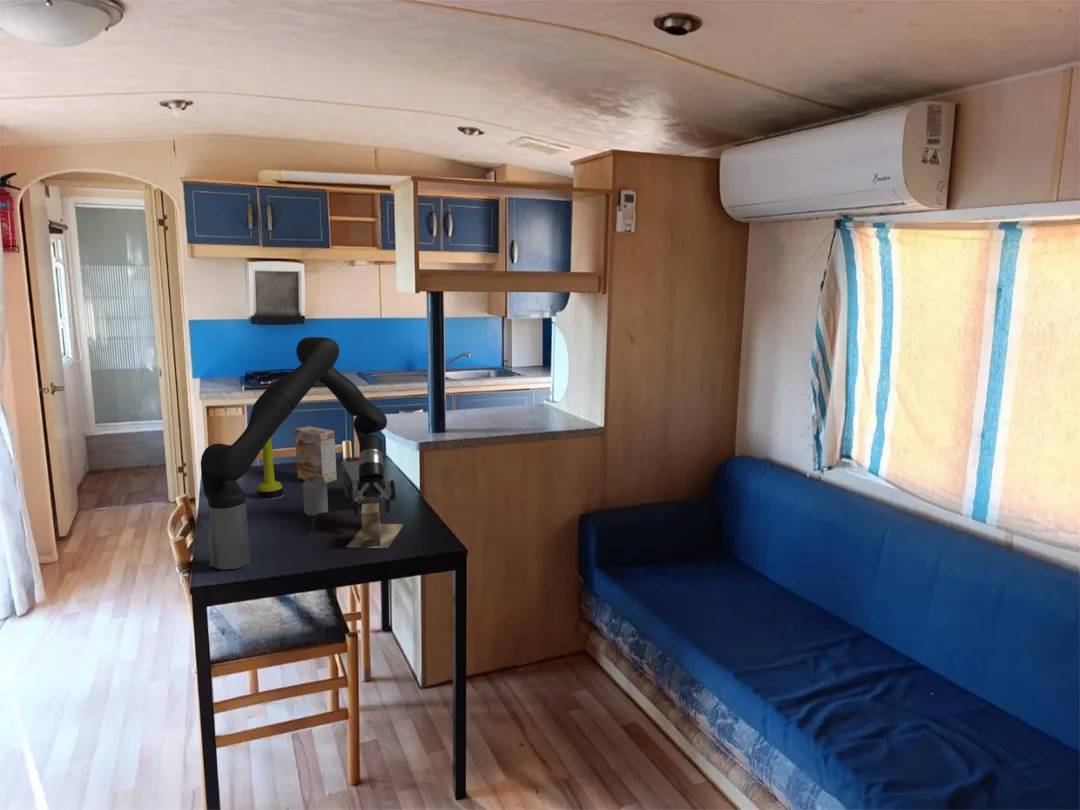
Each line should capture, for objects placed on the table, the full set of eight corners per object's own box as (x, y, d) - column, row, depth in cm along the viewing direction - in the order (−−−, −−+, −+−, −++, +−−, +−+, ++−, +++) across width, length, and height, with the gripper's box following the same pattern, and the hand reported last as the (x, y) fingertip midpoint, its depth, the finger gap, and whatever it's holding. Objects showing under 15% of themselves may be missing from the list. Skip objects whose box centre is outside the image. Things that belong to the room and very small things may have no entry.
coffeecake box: (296, 478, 282) (293, 428, 279) (312, 474, 288) (309, 425, 285) (322, 484, 274) (319, 433, 270) (337, 480, 280) (334, 430, 276)
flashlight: (262, 430, 249) (284, 426, 257) (246, 427, 254) (268, 423, 262) (267, 501, 254) (289, 495, 261) (251, 497, 259) (273, 490, 266)
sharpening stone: (343, 491, 265) (341, 462, 263) (365, 489, 268) (363, 460, 266) (353, 512, 242) (352, 480, 241) (377, 509, 245) (376, 478, 244)
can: (318, 508, 246) (316, 474, 244) (333, 512, 242) (331, 477, 240) (299, 514, 240) (297, 479, 238) (314, 518, 236) (312, 482, 234)
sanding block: (362, 547, 208) (361, 513, 206) (363, 536, 217) (361, 503, 215) (380, 545, 209) (379, 512, 207) (380, 535, 218) (379, 502, 216)
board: (346, 551, 209) (345, 547, 208) (366, 527, 228) (365, 523, 228) (387, 551, 208) (387, 547, 208) (404, 527, 228) (404, 524, 227)
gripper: (346, 462, 224) (346, 509, 215) (394, 459, 227) (396, 506, 218) (348, 474, 230) (348, 521, 221) (394, 471, 233) (396, 517, 224)
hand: (372, 513), depth 219 cm, fingers open, 8 cm apart
